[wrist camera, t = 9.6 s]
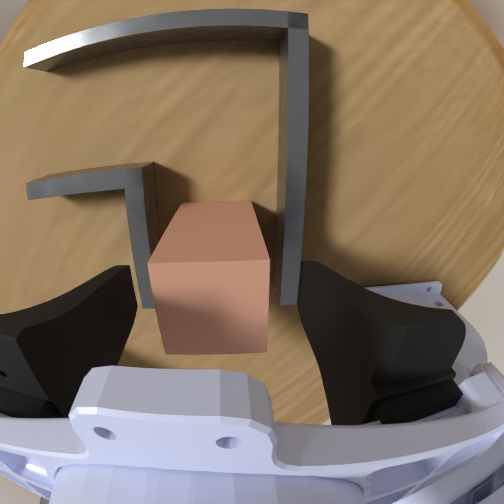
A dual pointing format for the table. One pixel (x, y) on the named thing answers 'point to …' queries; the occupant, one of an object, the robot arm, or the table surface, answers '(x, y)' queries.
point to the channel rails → (142, 174)
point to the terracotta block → (212, 280)
